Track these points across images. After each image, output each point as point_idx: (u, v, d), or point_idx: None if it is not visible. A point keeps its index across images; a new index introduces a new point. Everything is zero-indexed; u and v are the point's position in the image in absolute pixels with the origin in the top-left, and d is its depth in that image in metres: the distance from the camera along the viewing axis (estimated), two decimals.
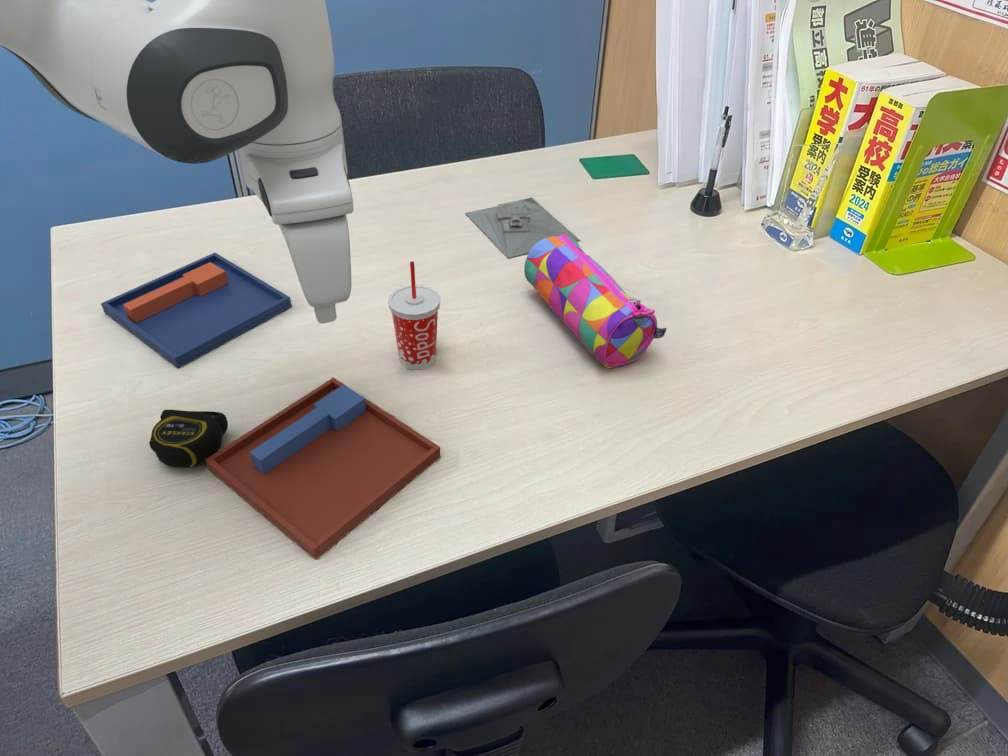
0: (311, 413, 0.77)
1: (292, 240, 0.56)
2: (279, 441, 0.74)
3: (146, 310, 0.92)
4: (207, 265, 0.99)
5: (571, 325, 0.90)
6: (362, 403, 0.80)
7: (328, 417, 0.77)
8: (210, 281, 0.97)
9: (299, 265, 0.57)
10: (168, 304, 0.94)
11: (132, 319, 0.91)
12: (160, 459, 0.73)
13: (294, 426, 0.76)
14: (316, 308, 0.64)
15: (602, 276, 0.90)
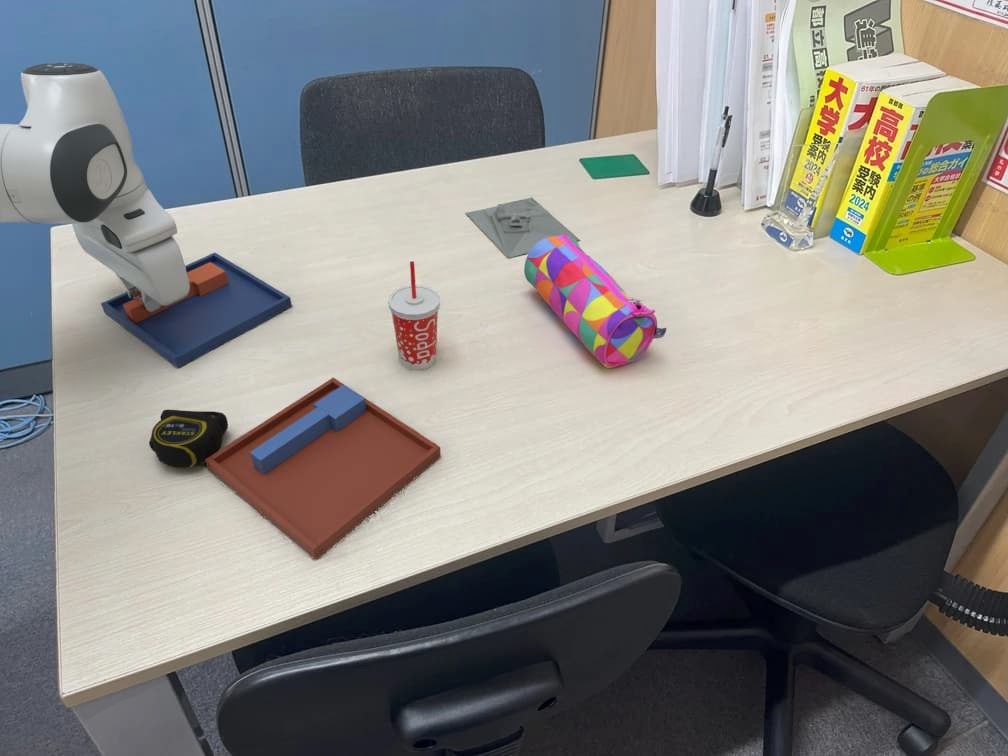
0: (311, 413, 0.77)
1: (143, 261, 0.80)
2: (279, 441, 0.74)
3: (146, 310, 0.92)
4: (207, 265, 0.99)
5: (571, 325, 0.90)
6: (362, 403, 0.80)
7: (328, 417, 0.77)
8: (209, 281, 0.97)
9: (152, 277, 0.81)
10: None
11: (132, 319, 0.91)
12: (160, 459, 0.73)
13: (294, 426, 0.76)
14: (145, 300, 0.90)
15: (602, 276, 0.90)
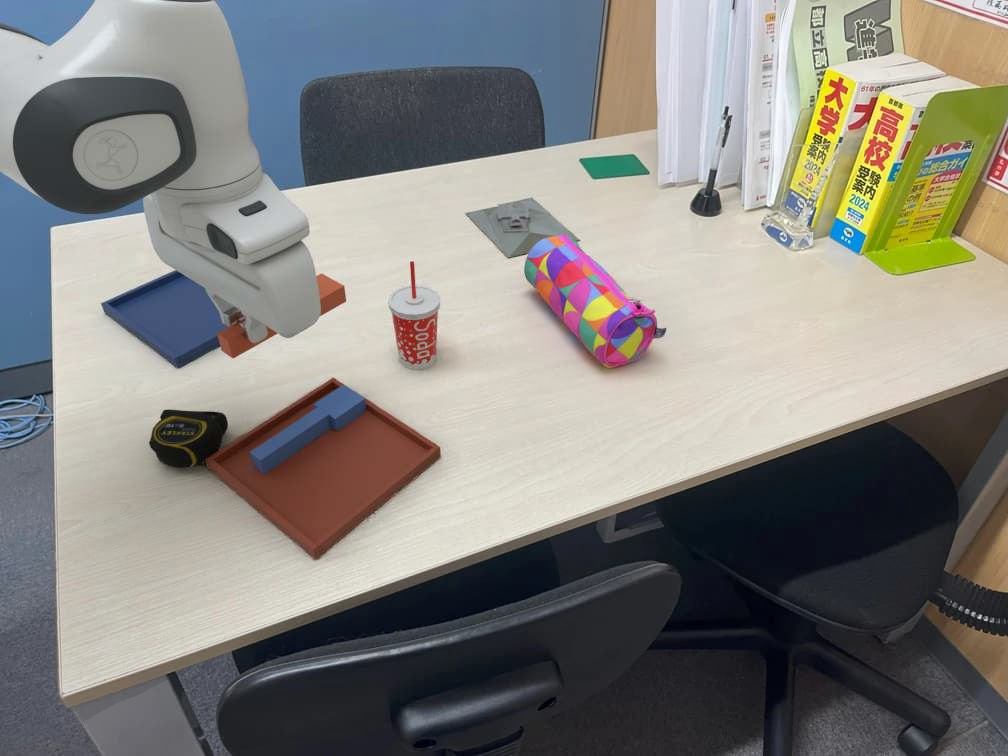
0: (311, 413, 0.77)
1: (266, 276, 0.55)
2: (279, 441, 0.74)
3: (247, 340, 0.68)
4: (319, 278, 0.74)
5: (571, 325, 0.90)
6: (362, 403, 0.80)
7: (328, 417, 0.77)
8: (325, 300, 0.72)
9: (277, 299, 0.56)
10: (274, 331, 0.70)
11: (229, 353, 0.67)
12: (160, 459, 0.73)
13: (294, 426, 0.76)
14: (250, 329, 0.65)
15: (602, 276, 0.90)
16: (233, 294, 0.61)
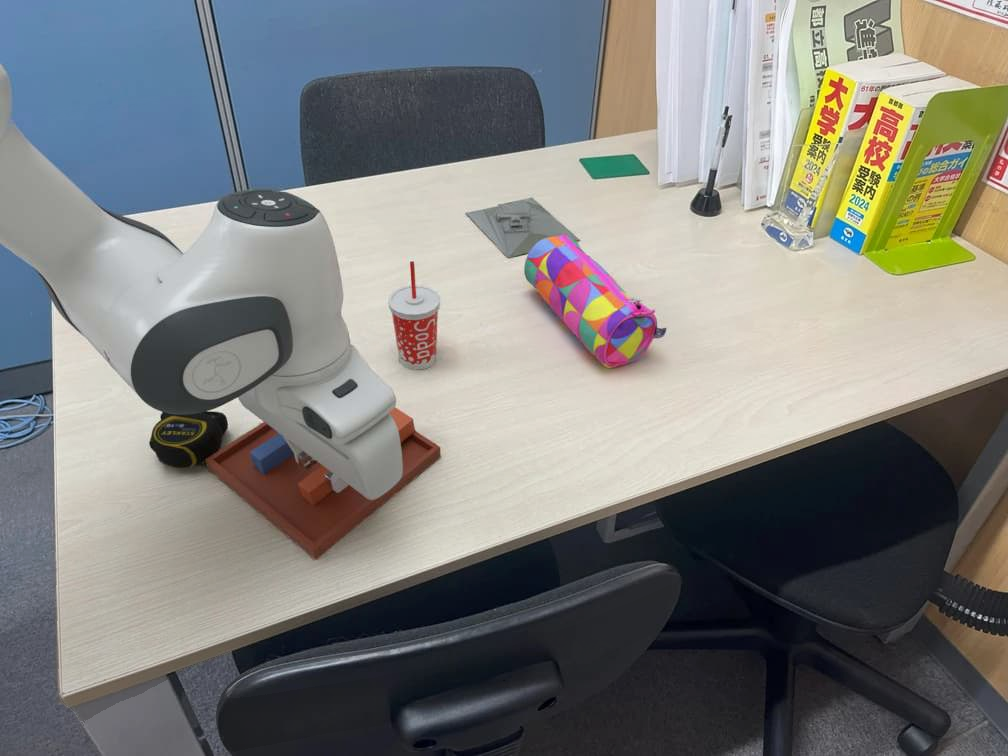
0: None
1: (358, 453, 0.58)
2: (279, 441, 0.74)
3: (326, 487, 0.71)
4: None
5: (571, 325, 0.90)
6: None
7: None
8: None
9: (366, 472, 0.59)
10: None
11: (310, 501, 0.70)
12: (160, 459, 0.73)
13: None
14: (336, 482, 0.68)
15: (602, 276, 0.90)
16: (318, 453, 0.64)
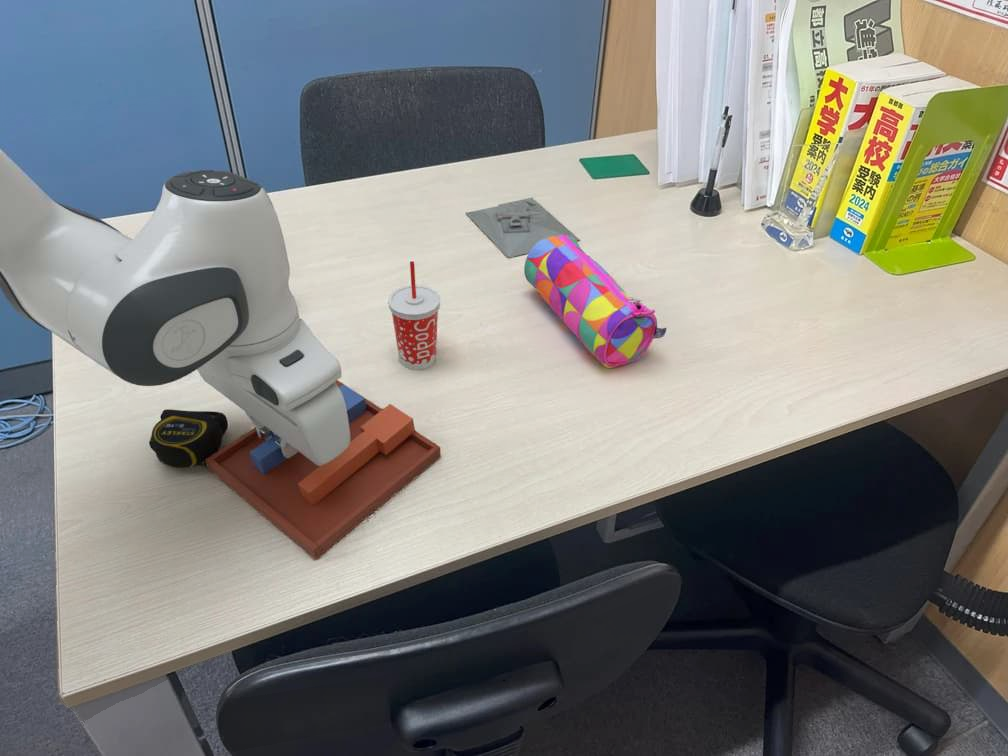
0: None
1: (303, 419, 0.62)
2: None
3: (326, 487, 0.71)
4: (388, 410, 0.77)
5: (571, 325, 0.90)
6: (362, 403, 0.80)
7: None
8: (396, 435, 0.75)
9: (312, 437, 0.63)
10: (349, 472, 0.73)
11: (310, 501, 0.70)
12: (160, 459, 0.73)
13: None
14: (285, 447, 0.72)
15: (602, 276, 0.90)
16: (271, 422, 0.68)
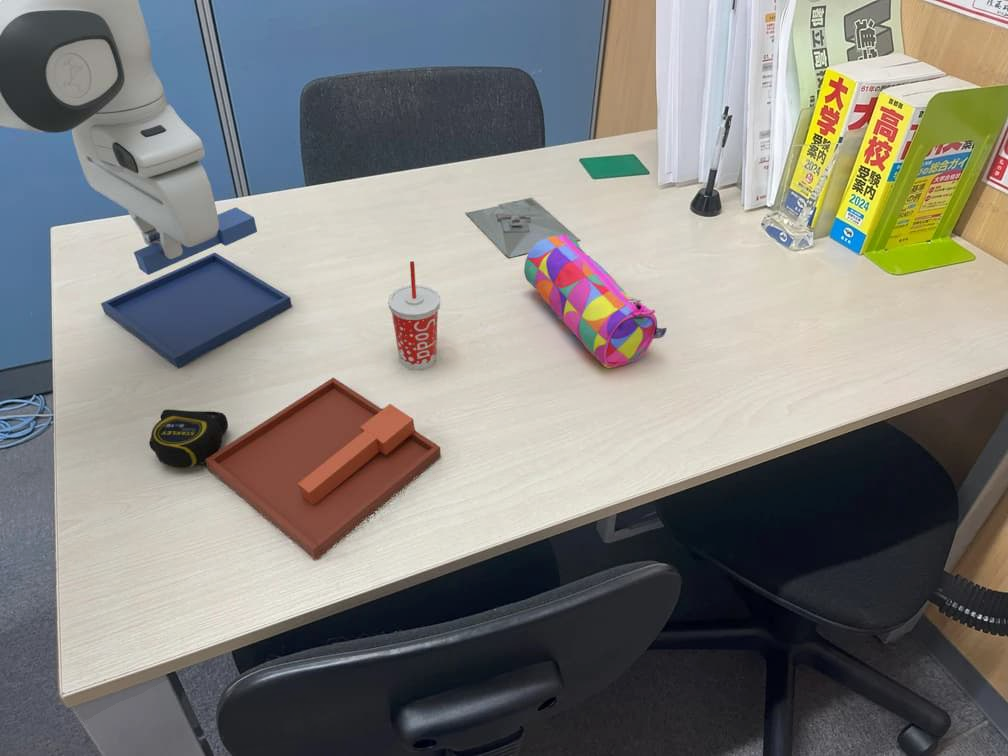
0: None
1: (164, 188, 0.65)
2: None
3: (326, 487, 0.71)
4: (388, 410, 0.77)
5: (571, 325, 0.90)
6: (251, 222, 0.83)
7: None
8: (396, 435, 0.75)
9: (175, 209, 0.66)
10: (349, 472, 0.73)
11: (310, 501, 0.70)
12: (160, 459, 0.73)
13: None
14: (165, 245, 0.75)
15: (602, 276, 0.90)
16: (145, 211, 0.71)
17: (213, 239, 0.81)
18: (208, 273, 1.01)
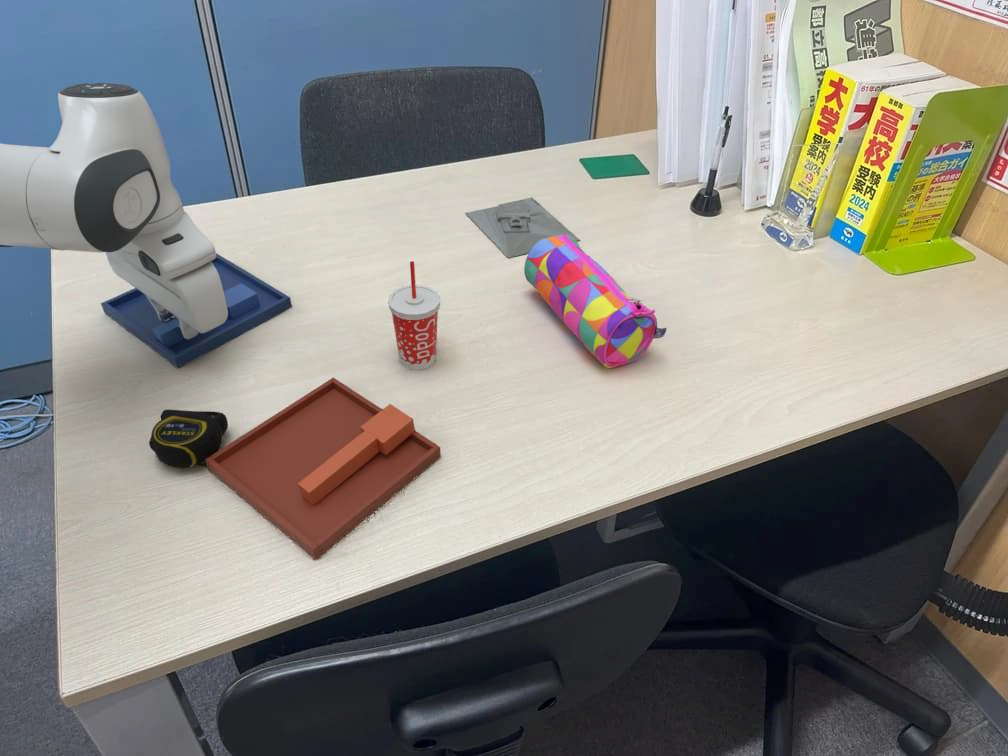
0: None
1: (182, 288, 0.77)
2: (178, 322, 0.89)
3: (326, 487, 0.71)
4: (388, 410, 0.77)
5: (571, 325, 0.90)
6: (254, 297, 0.94)
7: None
8: (396, 435, 0.75)
9: (191, 304, 0.78)
10: (349, 472, 0.73)
11: (310, 501, 0.70)
12: (160, 459, 0.73)
13: None
14: (183, 328, 0.86)
15: (602, 276, 0.90)
16: (164, 300, 0.83)
17: None
18: None
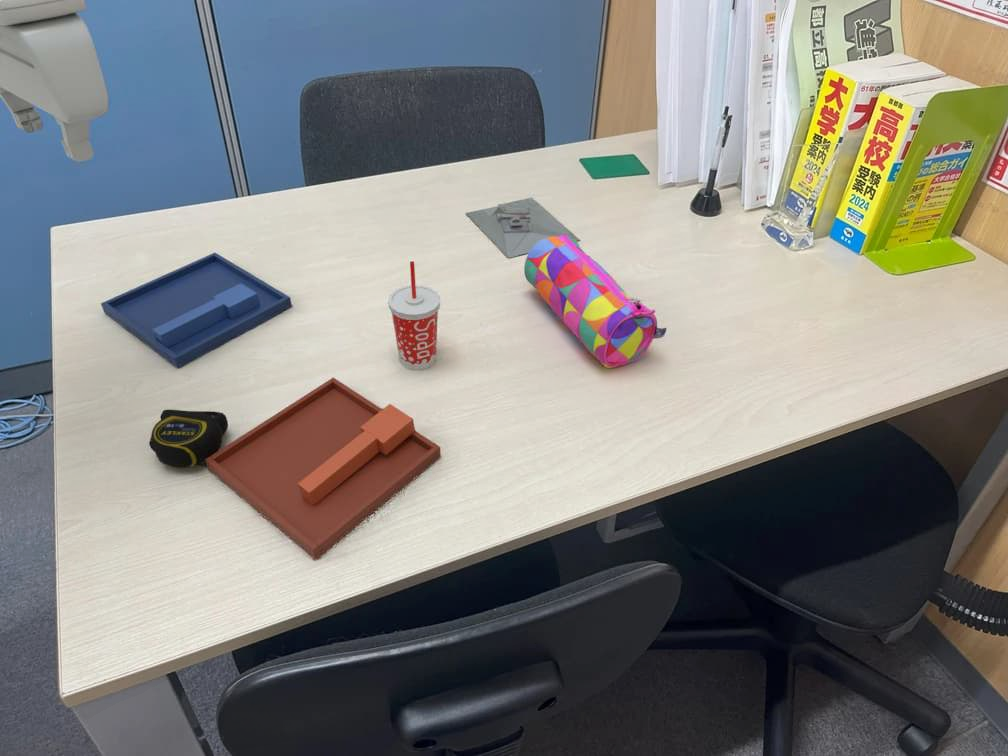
0: (209, 303, 0.92)
1: (29, 40, 0.53)
2: (178, 322, 0.89)
3: (326, 487, 0.71)
4: (388, 410, 0.77)
5: (571, 325, 0.90)
6: (254, 297, 0.94)
7: (224, 307, 0.92)
8: (396, 435, 0.75)
9: (45, 69, 0.54)
10: (349, 472, 0.73)
11: (310, 501, 0.70)
12: (160, 459, 0.73)
13: (193, 311, 0.90)
14: (69, 142, 0.61)
15: (602, 276, 0.90)
16: (20, 83, 0.59)
17: (221, 314, 0.92)
18: (208, 273, 1.01)
